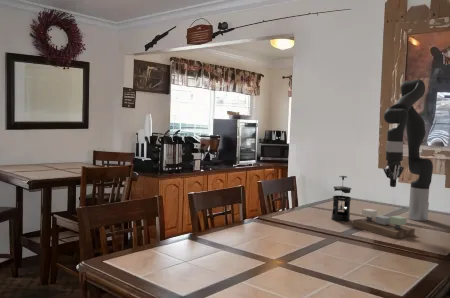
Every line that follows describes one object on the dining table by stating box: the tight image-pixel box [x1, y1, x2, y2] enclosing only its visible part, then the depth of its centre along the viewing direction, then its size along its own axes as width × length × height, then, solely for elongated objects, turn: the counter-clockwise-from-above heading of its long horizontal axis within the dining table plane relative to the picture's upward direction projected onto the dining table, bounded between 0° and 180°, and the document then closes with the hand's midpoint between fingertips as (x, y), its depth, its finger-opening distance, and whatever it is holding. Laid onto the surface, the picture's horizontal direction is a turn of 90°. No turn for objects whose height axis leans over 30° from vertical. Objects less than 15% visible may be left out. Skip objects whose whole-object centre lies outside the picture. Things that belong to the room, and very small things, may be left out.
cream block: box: [361, 208, 378, 221], centre depth 207 cm, size 5×5×6 cm
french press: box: [330, 175, 352, 223], centre depth 219 cm, size 12×9×23 cm
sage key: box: [389, 215, 408, 229], centre depth 193 cm, size 5×5×6 cm
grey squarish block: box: [374, 214, 391, 225], centre depth 200 cm, size 5×5×6 cm
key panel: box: [352, 217, 416, 239], centre depth 200 cm, size 14×24×3 cm, turn 32°
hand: (392, 186), depth 201 cm, fingers closed
